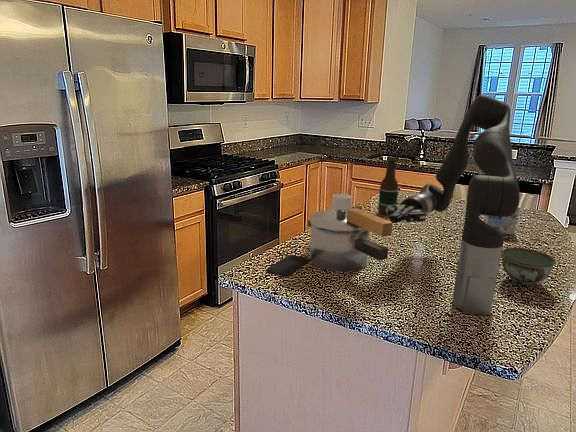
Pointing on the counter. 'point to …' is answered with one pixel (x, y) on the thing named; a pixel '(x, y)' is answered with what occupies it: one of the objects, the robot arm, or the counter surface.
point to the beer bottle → (388, 189)
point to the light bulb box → (503, 222)
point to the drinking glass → (341, 202)
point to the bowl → (526, 265)
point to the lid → (350, 222)
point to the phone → (287, 265)
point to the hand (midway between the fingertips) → (393, 219)
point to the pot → (343, 250)
